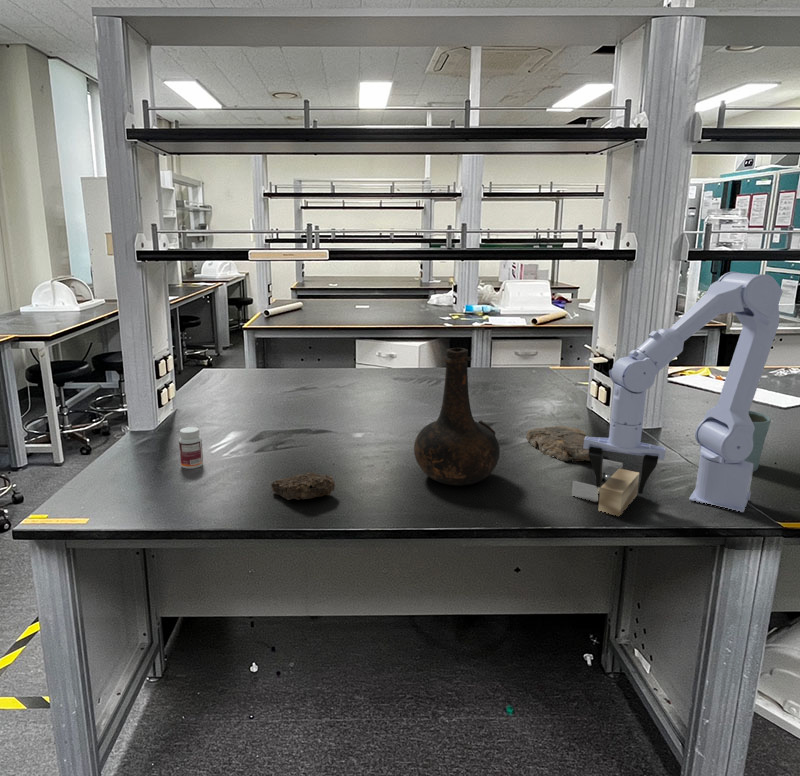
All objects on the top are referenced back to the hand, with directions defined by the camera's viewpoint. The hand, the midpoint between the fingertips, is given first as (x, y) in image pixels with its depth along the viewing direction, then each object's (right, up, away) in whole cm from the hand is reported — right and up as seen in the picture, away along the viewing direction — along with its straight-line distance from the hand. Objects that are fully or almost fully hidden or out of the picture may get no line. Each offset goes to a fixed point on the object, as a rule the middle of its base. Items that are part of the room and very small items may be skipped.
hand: (619, 488), depth 118 cm
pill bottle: (-89, +2, +18) cm, 91 cm away
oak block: (0, -3, +1) cm, 3 cm away
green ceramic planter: (+35, +2, +21) cm, 40 cm away
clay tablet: (-2, +4, +30) cm, 30 cm away
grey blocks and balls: (-1, -1, +9) cm, 9 cm away
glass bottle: (-31, 0, +12) cm, 33 cm away
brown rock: (-62, -2, +3) cm, 62 cm away
